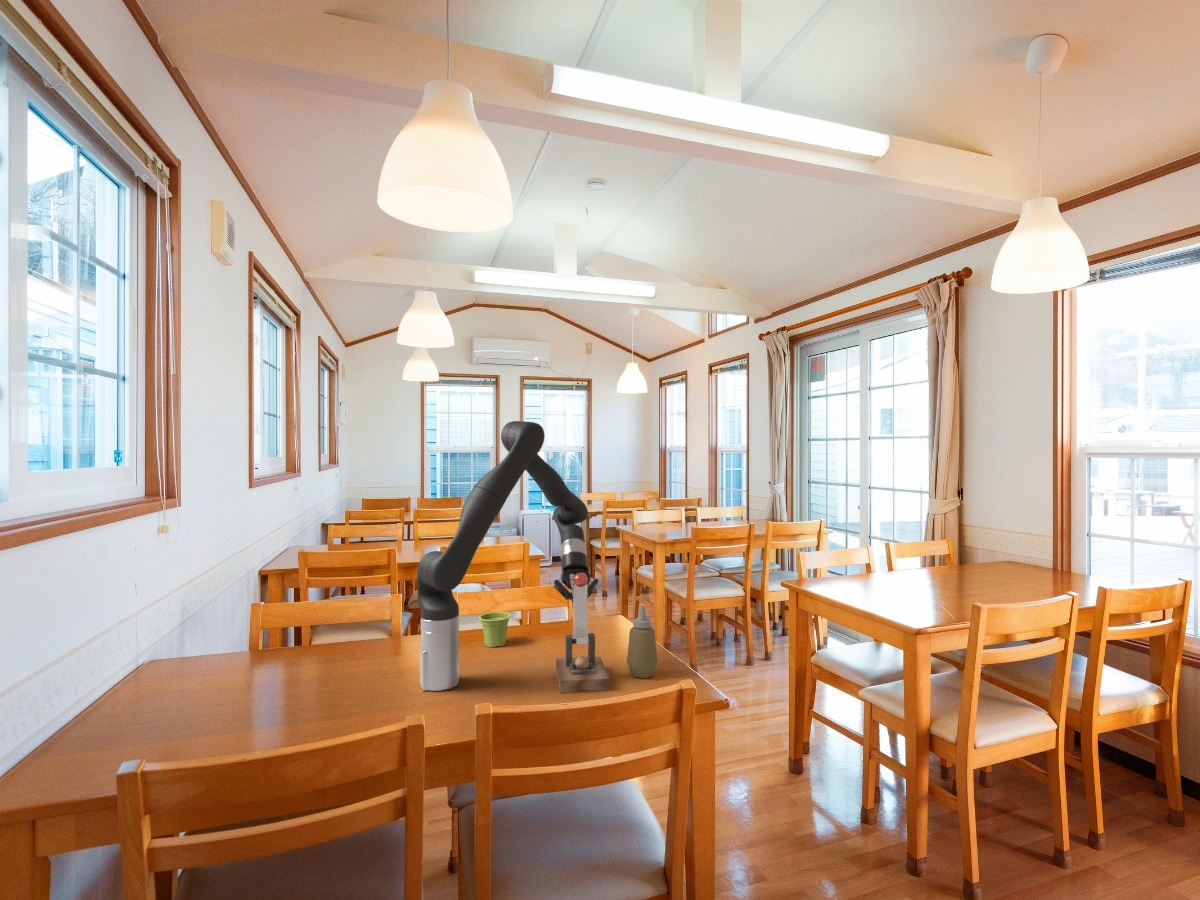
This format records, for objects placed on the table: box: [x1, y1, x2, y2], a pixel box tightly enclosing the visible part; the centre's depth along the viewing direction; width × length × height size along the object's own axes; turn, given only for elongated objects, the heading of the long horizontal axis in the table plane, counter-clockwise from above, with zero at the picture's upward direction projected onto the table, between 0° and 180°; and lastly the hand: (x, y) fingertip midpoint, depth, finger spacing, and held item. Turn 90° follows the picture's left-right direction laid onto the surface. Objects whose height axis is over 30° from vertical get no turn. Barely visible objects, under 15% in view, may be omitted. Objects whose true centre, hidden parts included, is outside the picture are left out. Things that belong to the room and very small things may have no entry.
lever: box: [572, 572, 589, 645], centre depth 157 cm, size 4×8×17 cm, turn 8°
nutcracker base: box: [555, 632, 610, 694], centre depth 155 cm, size 12×16×10 cm
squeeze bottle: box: [626, 605, 659, 679], centre depth 159 cm, size 8×8×18 cm
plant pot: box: [478, 611, 511, 648], centre depth 184 cm, size 9×9×9 cm
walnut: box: [575, 655, 589, 670], centre depth 154 cm, size 4×4×4 cm
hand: (578, 611), depth 162 cm, fingers closed
